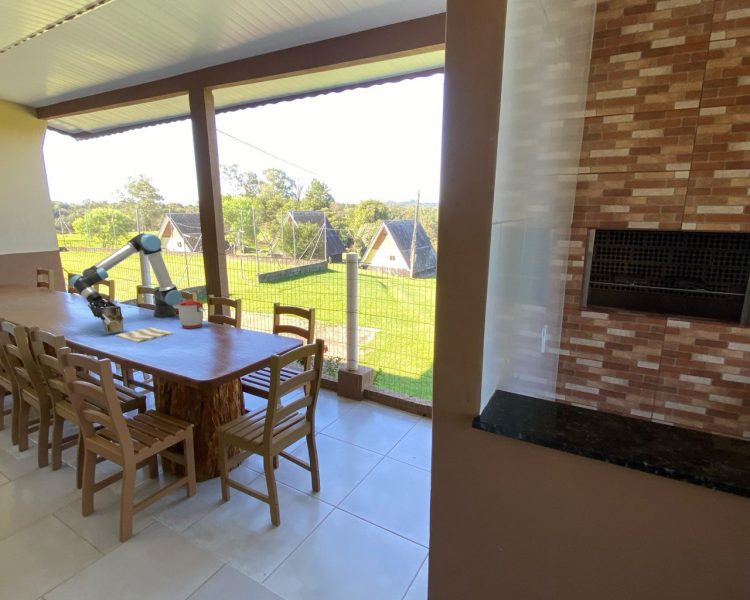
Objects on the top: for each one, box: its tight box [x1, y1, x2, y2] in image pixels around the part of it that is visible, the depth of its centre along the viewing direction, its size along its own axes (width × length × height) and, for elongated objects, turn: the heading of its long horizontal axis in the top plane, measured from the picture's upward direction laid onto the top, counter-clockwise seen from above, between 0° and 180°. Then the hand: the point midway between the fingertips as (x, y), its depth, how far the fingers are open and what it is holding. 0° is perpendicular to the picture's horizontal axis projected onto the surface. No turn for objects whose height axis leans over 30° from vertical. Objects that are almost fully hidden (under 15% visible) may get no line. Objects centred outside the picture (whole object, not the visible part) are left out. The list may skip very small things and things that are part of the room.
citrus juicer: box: [177, 298, 205, 329], centre depth 260 cm, size 16×17×20 cm
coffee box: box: [101, 305, 124, 334], centre depth 240 cm, size 9×6×16 cm
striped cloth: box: [115, 327, 174, 343], centre depth 239 cm, size 22×24×1 cm
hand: (116, 321), depth 240 cm, fingers closed on coffee box, 10 cm apart
